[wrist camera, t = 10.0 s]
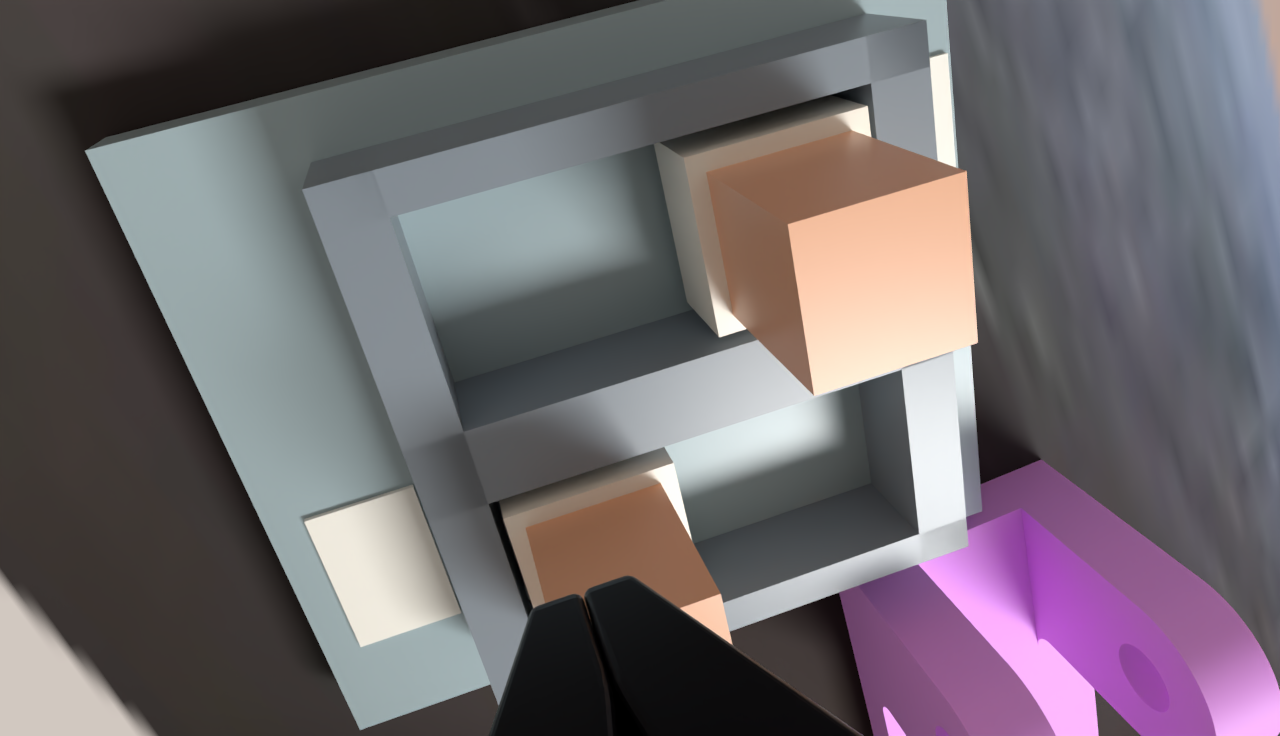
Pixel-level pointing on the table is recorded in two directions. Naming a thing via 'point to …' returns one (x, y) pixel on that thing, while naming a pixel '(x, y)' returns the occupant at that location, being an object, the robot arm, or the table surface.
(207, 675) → the table surface
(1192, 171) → the table surface
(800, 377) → the tab
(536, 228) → the switch plate
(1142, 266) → the table surface
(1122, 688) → the bracket
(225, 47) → the table surface
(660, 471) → the tab
